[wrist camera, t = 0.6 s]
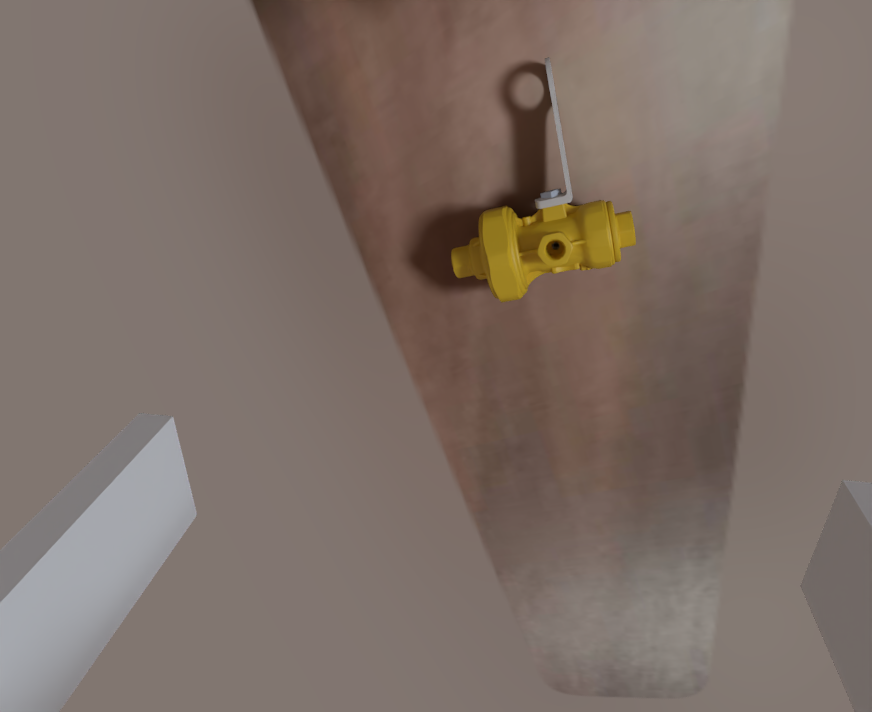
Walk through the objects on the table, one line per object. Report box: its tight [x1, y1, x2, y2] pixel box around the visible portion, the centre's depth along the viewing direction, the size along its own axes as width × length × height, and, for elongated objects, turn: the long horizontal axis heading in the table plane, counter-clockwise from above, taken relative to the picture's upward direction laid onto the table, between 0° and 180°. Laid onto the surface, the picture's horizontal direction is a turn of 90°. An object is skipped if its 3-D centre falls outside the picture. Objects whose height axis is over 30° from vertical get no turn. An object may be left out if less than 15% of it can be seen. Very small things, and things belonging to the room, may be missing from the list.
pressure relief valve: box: [451, 57, 636, 302], centre depth 35 cm, size 6×12×10 cm
